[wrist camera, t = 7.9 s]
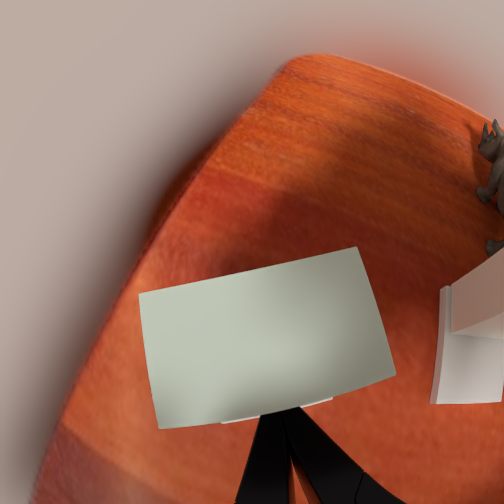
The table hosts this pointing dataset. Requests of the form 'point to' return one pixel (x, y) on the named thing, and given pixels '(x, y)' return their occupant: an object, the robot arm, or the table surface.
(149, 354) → the key two
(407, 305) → the table surface
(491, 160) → the rhino figurine
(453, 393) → the plinth
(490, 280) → the key one
